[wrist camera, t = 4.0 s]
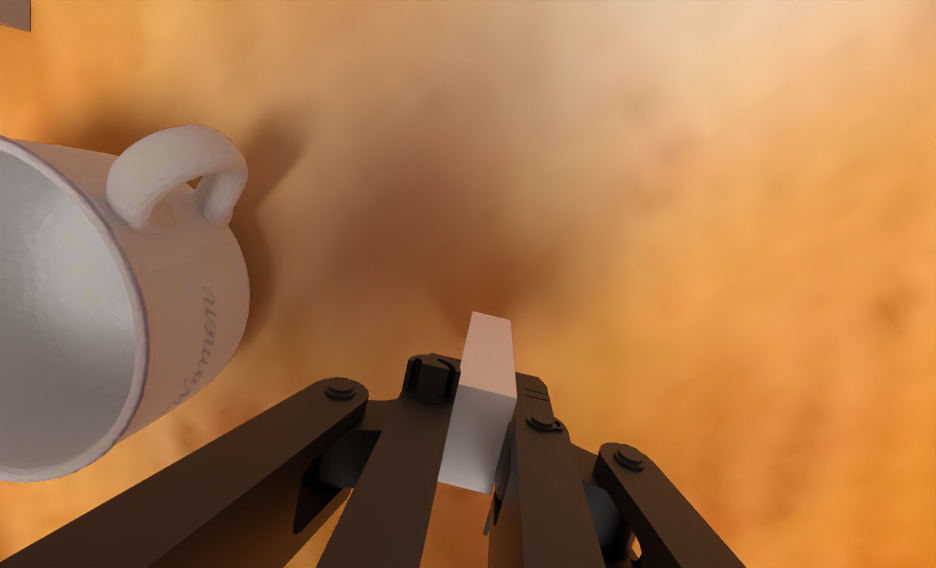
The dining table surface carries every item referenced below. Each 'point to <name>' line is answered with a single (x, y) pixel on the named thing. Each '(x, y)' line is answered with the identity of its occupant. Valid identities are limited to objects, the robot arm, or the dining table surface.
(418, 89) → the dining table surface
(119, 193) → the teacup
